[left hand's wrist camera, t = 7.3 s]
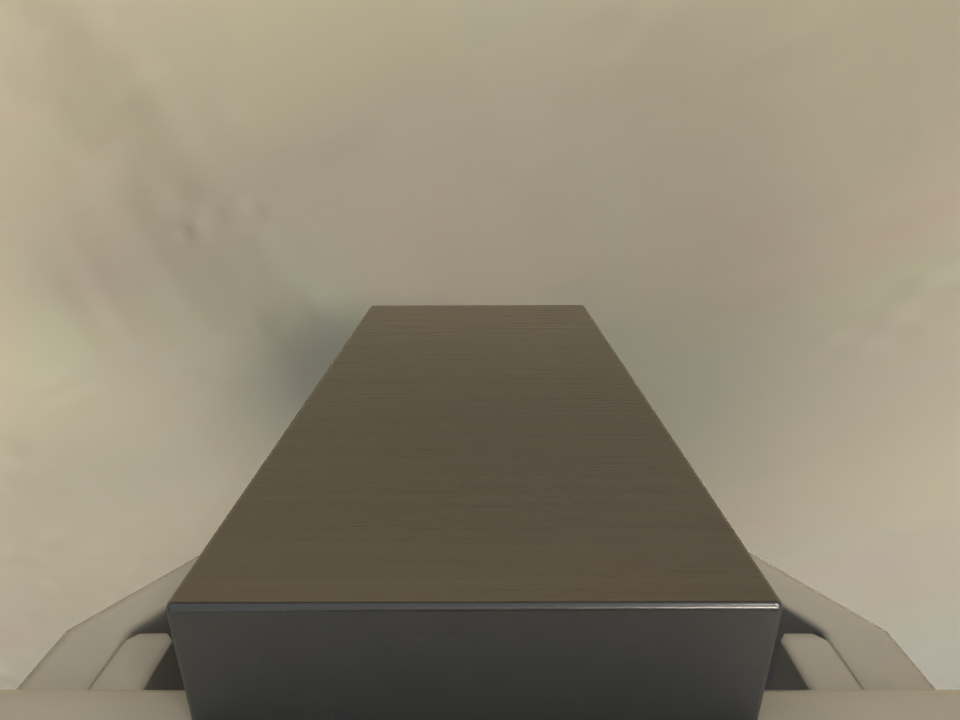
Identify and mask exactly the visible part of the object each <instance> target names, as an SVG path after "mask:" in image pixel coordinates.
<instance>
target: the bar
mask: <svg viewBox="0 0 960 720" xmlns="http://www.w3.org/2000/svg"><path fill="white" fill-rule="evenodd" d="M782 611H783V608H782V603H781V600H780V599H779V597H778V596H777V594H776V593H775V591H774V590H773V588H772V587H771V585H770V584H769V582H768V581H767V579H766V578H765V576H764V575H763V573H762V572H761V570H760V569H759V567H758V566H757V564H756V563H755V562H754V560H753V559H752V557H751V556H750V554H749V553H748V551H747V550H746V548H745V547H744V545H743V544H742V542H741V541H740V539H739V538H738V536H737V535H736V533H735V532H734V530H733V529H732V527H731V526H730V524H729V523H728V521H727V520H726V518H725V517H724V515H723V514H722V512H721V511H720V509H719V508H718V506H717V505H716V503H715V502H714V500H713V499H712V497H711V496H710V494H709V493H708V491H707V490H706V488H705V487H704V485H703V484H702V482H701V481H700V479H699V478H698V476H697V475H696V473H695V472H694V470H693V469H692V467H691V466H690V464H689V463H688V461H687V460H686V458H685V457H684V455H683V454H682V452H681V451H680V449H679V448H678V446H677V445H676V443H675V442H674V440H673V439H672V437H671V436H670V434H669V433H668V431H667V430H666V428H665V427H664V425H663V424H662V422H661V421H660V419H659V418H658V416H657V415H656V413H655V412H654V410H653V409H652V407H651V406H650V404H649V403H648V401H647V400H646V398H645V397H644V395H643V394H642V392H641V391H640V389H639V388H638V386H637V385H636V383H635V382H634V380H633V379H632V378H631V376H630V375H629V373H628V372H627V370H626V369H625V367H624V366H623V364H622V363H621V361H620V360H619V358H618V357H617V355H616V354H615V352H614V351H613V349H612V348H611V346H610V345H609V343H608V342H607V340H606V339H605V337H604V336H603V334H602V333H601V331H600V330H599V328H598V327H597V325H596V324H595V322H594V321H593V319H592V318H591V316H590V315H589V313H588V312H587V310H586V309H585V307H584V306H582V305H501V306H372V307H371V308H370V309H369V311H368V312H367V314H366V315H365V316H364V318H363V319H362V321H361V322H360V324H359V325H358V327H357V328H356V330H355V331H354V332H353V334H352V335H351V337H350V338H349V340H348V341H347V343H346V344H345V346H344V347H343V348H342V350H341V351H340V353H339V354H338V356H337V357H336V359H335V360H334V361H333V363H332V364H331V366H330V367H329V369H328V370H327V372H326V373H325V375H324V376H323V377H322V379H321V380H320V382H319V383H318V385H317V386H316V388H315V389H314V391H313V392H312V393H311V395H310V396H309V398H308V399H307V401H306V402H305V404H304V405H303V407H302V408H301V409H300V411H299V412H298V414H297V415H296V417H295V418H294V420H293V421H292V422H291V424H290V425H289V427H288V428H287V430H286V431H285V433H284V434H283V436H282V437H281V438H280V440H279V441H278V443H277V444H276V446H275V447H274V449H273V450H272V452H271V453H270V454H269V456H268V457H267V459H266V460H265V462H264V463H263V465H262V466H261V468H260V469H259V470H258V472H257V473H256V475H255V476H254V478H253V479H252V481H251V482H250V484H249V485H248V486H247V488H246V489H245V491H244V492H243V494H242V495H241V497H240V498H239V499H238V501H237V502H236V504H235V505H234V507H233V508H232V510H231V511H230V513H229V514H228V515H227V517H226V518H225V520H224V521H223V523H222V524H221V526H220V527H219V529H218V530H217V531H216V533H215V534H214V536H213V537H212V539H211V540H210V542H209V543H208V545H207V546H206V547H205V549H204V550H203V552H202V553H201V555H200V556H199V558H198V559H197V560H196V562H195V563H194V565H193V566H192V568H191V569H190V571H189V572H188V574H187V575H186V576H185V578H184V579H183V581H182V582H181V584H180V585H179V587H178V588H177V590H176V591H175V592H174V594H173V595H172V597H171V598H170V600H169V601H168V603H167V606H166V616H167V620H168V624H169V628H170V632H171V636H172V640H173V644H174V648H175V653H176V657H177V661H178V665H179V669H180V673H181V677H182V681H183V685H184V689H185V693H186V697H187V701H188V705H189V709H190V714H191V718H192V720H758V716H759V711H760V707H761V702H762V698H763V694H764V689H765V685H766V681H767V676H768V672H769V668H770V663H771V659H772V655H773V650H774V646H775V642H776V637H777V633H778V629H779V624H780V620H781V616H782Z"/></svg>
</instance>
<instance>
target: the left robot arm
mask: <svg viewBox="0 0 960 720" xmlns="http://www.w3.org/2000/svg"><path fill="white" fill-rule="evenodd" d="M748 553H749V552H748ZM749 554H750V556H751V557H752V559H753V560H754V562H755V563H756V564H757V566H758V567H759V569H760V570H761V572H762V573H763V575H764V576H765V578H766V579H767V581H768V582H769V584H770V585H771V587H772V588H773V590H774V591H775V593H776V594H777V596H778V597H779V599H780V600H781V603H782V608H783V611H782V616H781V620H780V624H779V629H778V633H777V637H776V642H775V646H774V650H773V655H772V659H771V663H770V668H769V672H768V676H767V681H766V685H765V689H764V694H763V698H762V702H761V707H760V711H759V716H758V720H960V690H936V689H935V688H934V687H933V686H932V685H931V683H930V682H929V681H928V680H927V679H926V678H925V676H924V675H923V674H922V673H921V672H920V670H919V669H918V668H917V667H916V666H915V664H914V663H913V662H912V661H911V660H910V658H909V657H908V656H907V655H906V654H905V653H904V651H903V650H902V649H901V648H900V647H899V645H898V644H897V643H896V642H895V641H894V639H893V638H892V637H891V636H890V635H889V634H888V632H886V631H885V630H883V629H881V628H879V627H878V626H876V625H874V624H872V623H871V622H869V621H867V620H865V619H864V618H862V617H860V616H859V615H857V614H855V613H853V612H852V611H850V610H848V609H846V608H845V607H843V606H841V605H839V604H838V603H836V602H834V601H832V600H831V599H829V598H827V597H825V596H824V595H822V594H820V593H818V592H817V591H815V590H813V589H812V588H810V587H808V586H806V585H805V584H803V583H801V582H799V581H798V580H796V579H794V578H792V577H791V576H789V575H787V574H785V573H784V572H782V571H780V570H778V569H777V568H775V567H773V566H771V565H770V564H768V563H766V562H765V561H763V560H761V559H759V558H758V557H756V556H754V555H752V554H751V553H749ZM198 558H199V556H198V557H196V558H195V559H193V560H191V561H189V562H188V563H186V564H184V565H182V566H181V567H179V568H177V569H175V570H173V571H172V572H170V573H168V574H166V575H165V576H163V577H161V578H159V579H158V580H156V581H154V582H152V583H151V584H149V585H147V586H145V587H144V588H142V589H140V590H138V591H136V592H135V593H133V594H131V595H129V596H128V597H126V598H124V599H122V600H121V601H119V602H117V603H115V604H114V605H112V606H110V607H108V608H106V609H105V610H103V611H101V612H99V613H98V614H96V615H94V616H92V617H91V618H89V619H87V620H85V621H84V622H82V623H80V624H78V625H76V626H75V627H73V628H71V629H69V630H68V631H66V632H65V634H64V635H63V636H62V637H61V638H60V639H59V641H58V642H57V643H56V644H55V645H54V646H53V648H52V649H51V650H50V651H49V652H48V653H47V654H46V656H45V657H44V658H43V659H42V660H41V661H40V663H39V664H38V665H37V666H36V667H35V668H34V670H33V671H32V672H31V673H30V674H29V675H28V677H27V678H26V679H25V680H24V681H23V682H22V684H21V685H20V686H19V687H18V688H17V689H16V690H0V720H192V718H191V714H190V709H189V705H188V701H187V697H186V693H185V689H184V685H183V681H182V677H181V673H180V669H179V665H178V661H177V657H176V653H175V648H174V644H173V640H172V636H171V632H170V628H169V624H168V620H167V616H166V606H167V603H168V601H169V600H170V598H171V597H172V595H173V594H174V592H175V591H176V590H177V588H178V587H179V585H180V584H181V582H182V581H183V579H184V578H185V576H186V575H187V574H188V572H189V571H190V569H191V568H192V566H193V565H194V563H195V562H196V560H197V559H198Z"/></svg>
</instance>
